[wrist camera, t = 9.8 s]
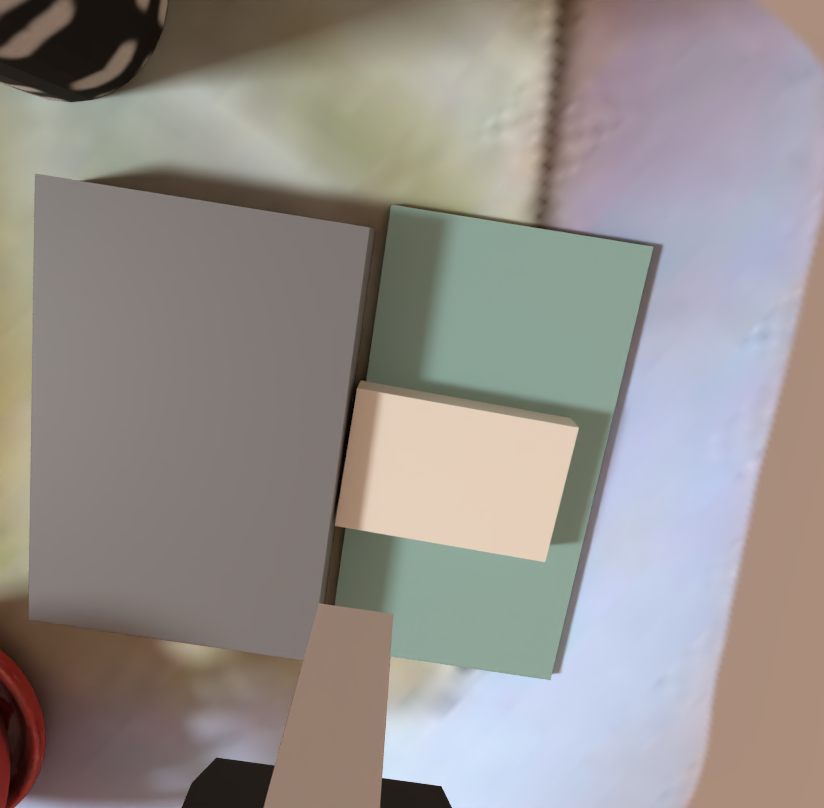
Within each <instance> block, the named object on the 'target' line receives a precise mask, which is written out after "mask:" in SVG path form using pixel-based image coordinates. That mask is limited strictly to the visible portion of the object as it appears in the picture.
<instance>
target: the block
mask: <svg viewBox="0 0 824 808" xmlns="http://www.w3.org/2000/svg"><path fill="white" fill-rule="evenodd" d="M578 430H579V427H578V426H577V425H576V424H575V422H574V421H573V420H572V419H571V418H568V417H562V416H557V415H551V414H546V413H540V412H534V411H529V410H523V409H518V408H512V407H506V406H501V405H495V404H490V403H484V402H478V401H473V400H467V399H462V398H456V397H450V396H445V395H439V394H434V393H428V392H422V391H417V390H411V389H406V388H400V387H394V386H389V385H383V384H378V383H372V382H366V381H360V383H359V385H358V388H357V392H356V398H355V405H354V411H353V417H352V423H351V429H350V435H349V442H348V448H347V454H346V460H345V466H344V472H343V479H342V485H341V491H340V497H339V503H338V509H337V516H336V522H335V526H339V527H344V528H350V529H356V530H362V531H368V532H373V533H379V534H385V535H391V536H396V537H402V538H408V539H414V540H420V541H425V542H431V543H437V544H443V545H448V546H454V547H460V548H466V549H472V550H477V551H483V552H489V553H495V554H500V555H506V556H512V557H518V558H524V559H529V560H535V561H541V562H545V561H546V557H547V553H548V549H549V545H550V541H551V537H552V533H553V529H554V525H555V521H556V517H557V513H558V509H559V505H560V501H561V497H562V493H563V489H564V485H565V481H566V477H567V473H568V469H569V465H570V461H571V457H572V453H573V450H574V446H575V442H576V438H577V434H578Z"/></svg>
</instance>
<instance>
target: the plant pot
mask: <svg viewBox="0 0 824 808" xmlns="http://www.w3.org/2000/svg"><path fill="white" fill-rule="evenodd" d="M45 746H46V735H45V724H44V719H43V714H42V710H41V707H40V704H39V701H38V699H37V697H36V694H35V692H34V690H33V688H32V686H31V684H30V683H29V681H28V680H27V678H26V676H25V675H24V674H23V672H22V671H21V670H20V668H19V667H18V666H17V665H16V663H15V662H14V661H13V660H12V659H11V658H10V657H9V656H7V655H6V654H5V653H4V652H3V651H2V650H0V808H14V807H15V806H16V805H17V804H19V803H20V802H21V801H22V799H23V798H24V797H25V796H26V795H27V793H28V792H29V790H30V789H31V787H32V786H33V784H34V782H35V780H36V778H37V776H38V774H39V771H40V769H41V765H42V762H43V758H44V752H45Z"/></svg>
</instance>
